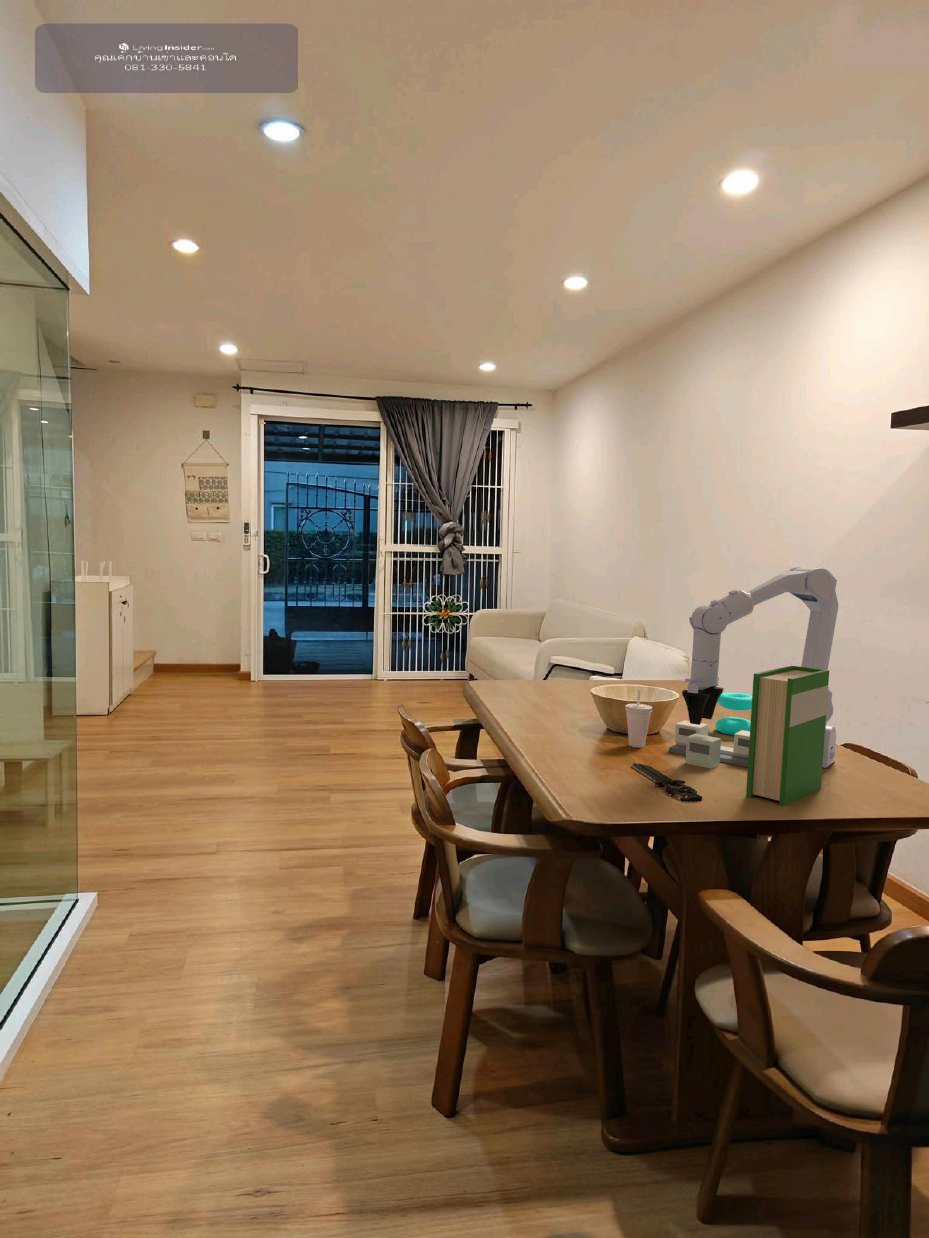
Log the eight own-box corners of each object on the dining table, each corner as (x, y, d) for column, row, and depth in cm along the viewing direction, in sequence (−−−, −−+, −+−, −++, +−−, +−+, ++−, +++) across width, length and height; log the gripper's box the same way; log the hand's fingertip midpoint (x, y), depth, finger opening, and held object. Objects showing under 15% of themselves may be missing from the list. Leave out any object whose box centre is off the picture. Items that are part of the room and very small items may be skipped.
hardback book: (784, 806, 141) (792, 679, 139) (745, 796, 146) (753, 673, 144) (820, 787, 153) (829, 670, 151) (784, 779, 159) (792, 665, 156)
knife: (626, 766, 167) (627, 759, 167) (655, 765, 168) (655, 759, 168) (673, 804, 142) (673, 796, 142) (706, 803, 143) (706, 796, 143)
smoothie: (620, 746, 182) (622, 688, 181) (627, 740, 187) (630, 684, 186) (646, 750, 179) (649, 691, 178) (653, 744, 184) (656, 687, 183)
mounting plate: (771, 759, 174) (773, 732, 174) (754, 768, 166) (756, 740, 165) (688, 743, 187) (689, 718, 186) (668, 751, 178) (670, 725, 178)
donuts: (765, 696, 198) (741, 700, 192) (763, 734, 199) (738, 738, 193) (733, 690, 206) (709, 693, 201) (731, 726, 207) (706, 730, 202)
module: (719, 764, 168) (721, 738, 168) (711, 769, 165) (713, 742, 164) (693, 759, 172) (695, 733, 172) (685, 763, 169) (686, 737, 168)
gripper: (698, 655, 175) (694, 713, 176) (675, 661, 164) (671, 723, 165) (729, 659, 171) (724, 718, 172) (708, 665, 159) (703, 728, 161)
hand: (700, 721), depth 168 cm, fingers open, 7 cm apart
